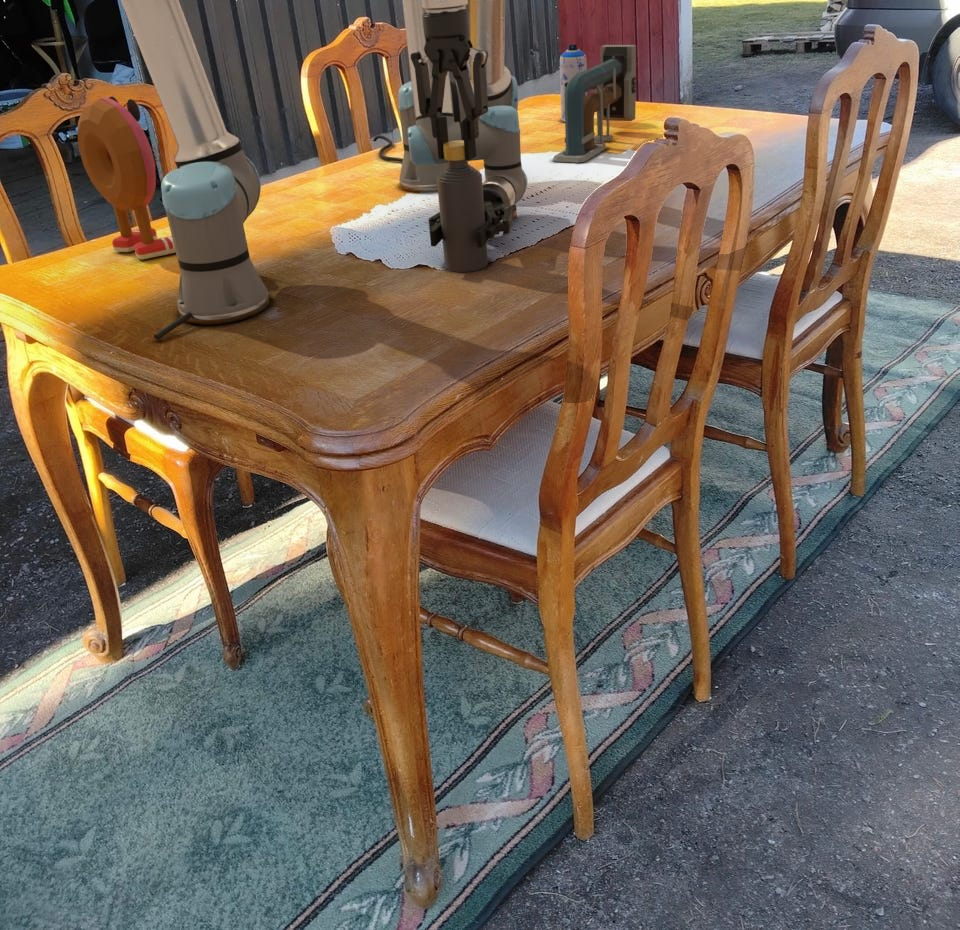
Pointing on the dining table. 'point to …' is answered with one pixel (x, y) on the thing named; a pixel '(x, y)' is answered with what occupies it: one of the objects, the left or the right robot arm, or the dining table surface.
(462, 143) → the cap
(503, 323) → the dining table surface
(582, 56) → the aerosol can
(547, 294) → the dining table surface
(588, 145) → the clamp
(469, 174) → the bottle
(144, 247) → the toy
